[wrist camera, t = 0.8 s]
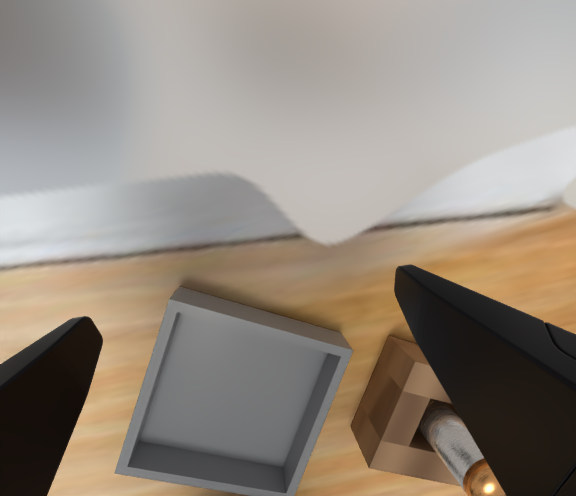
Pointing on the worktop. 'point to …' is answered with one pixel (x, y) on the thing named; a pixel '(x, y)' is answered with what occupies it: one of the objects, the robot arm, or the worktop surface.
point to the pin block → (400, 414)
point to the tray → (232, 397)
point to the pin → (458, 450)
